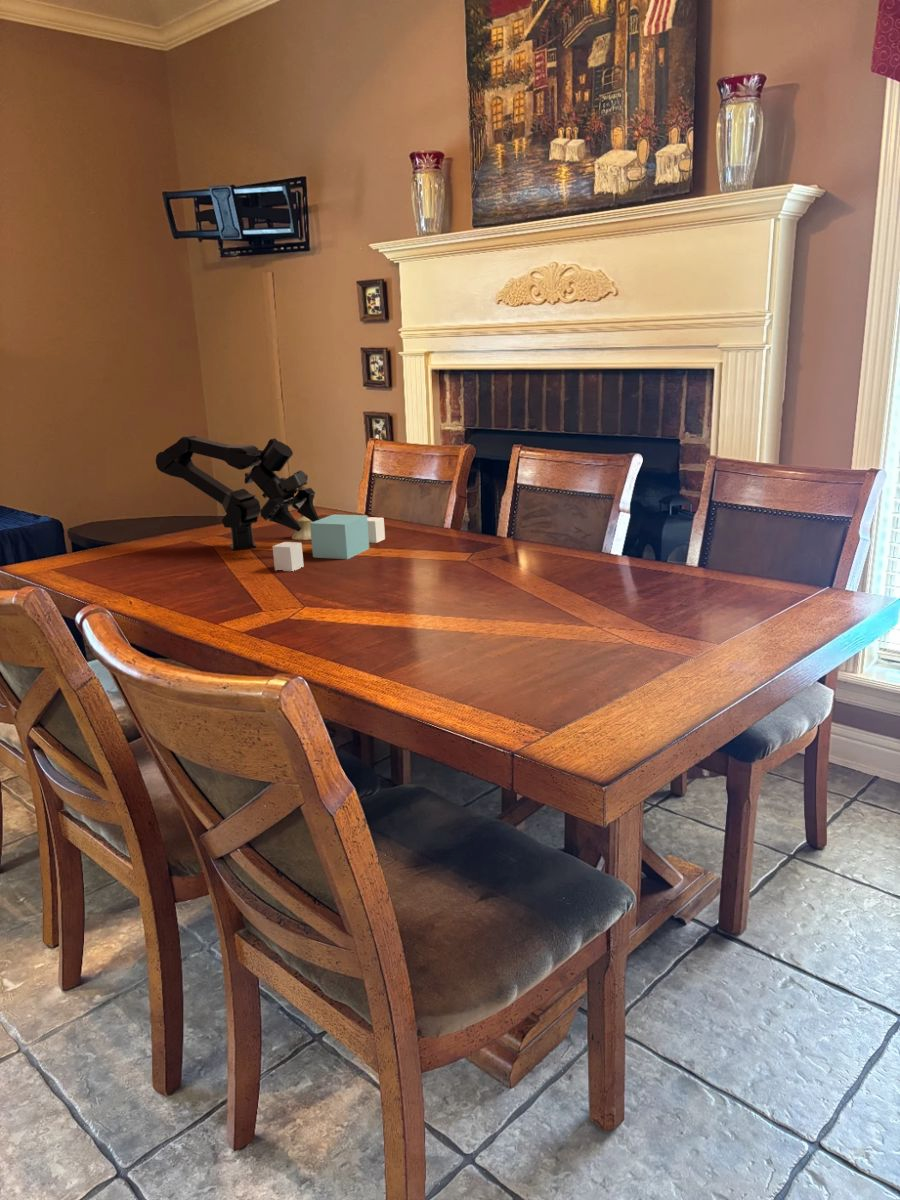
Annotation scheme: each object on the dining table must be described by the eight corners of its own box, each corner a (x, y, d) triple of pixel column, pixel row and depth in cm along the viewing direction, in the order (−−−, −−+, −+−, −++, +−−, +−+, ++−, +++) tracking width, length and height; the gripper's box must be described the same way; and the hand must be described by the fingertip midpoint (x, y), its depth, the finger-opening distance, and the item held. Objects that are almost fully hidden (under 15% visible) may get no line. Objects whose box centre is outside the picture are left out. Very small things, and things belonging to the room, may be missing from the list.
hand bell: (290, 536, 244) (284, 480, 240) (318, 533, 247) (313, 478, 242) (293, 541, 237) (288, 484, 232) (323, 538, 239) (318, 482, 235)
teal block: (313, 557, 217) (309, 523, 215) (336, 547, 228) (333, 514, 225) (347, 559, 213) (344, 524, 211) (369, 549, 224) (366, 515, 222)
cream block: (360, 542, 232) (358, 520, 231) (369, 538, 237) (367, 517, 235) (376, 543, 230) (375, 521, 229) (385, 539, 235) (383, 517, 233)
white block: (275, 570, 206) (272, 546, 204) (286, 565, 210) (284, 541, 208) (292, 571, 204) (290, 547, 202) (303, 566, 208) (301, 542, 206)
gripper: (265, 467, 211) (307, 512, 210) (305, 457, 228) (344, 499, 227) (242, 497, 217) (283, 541, 215) (284, 486, 233) (322, 527, 232)
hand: (309, 526), depth 222 cm, fingers open, 9 cm apart
